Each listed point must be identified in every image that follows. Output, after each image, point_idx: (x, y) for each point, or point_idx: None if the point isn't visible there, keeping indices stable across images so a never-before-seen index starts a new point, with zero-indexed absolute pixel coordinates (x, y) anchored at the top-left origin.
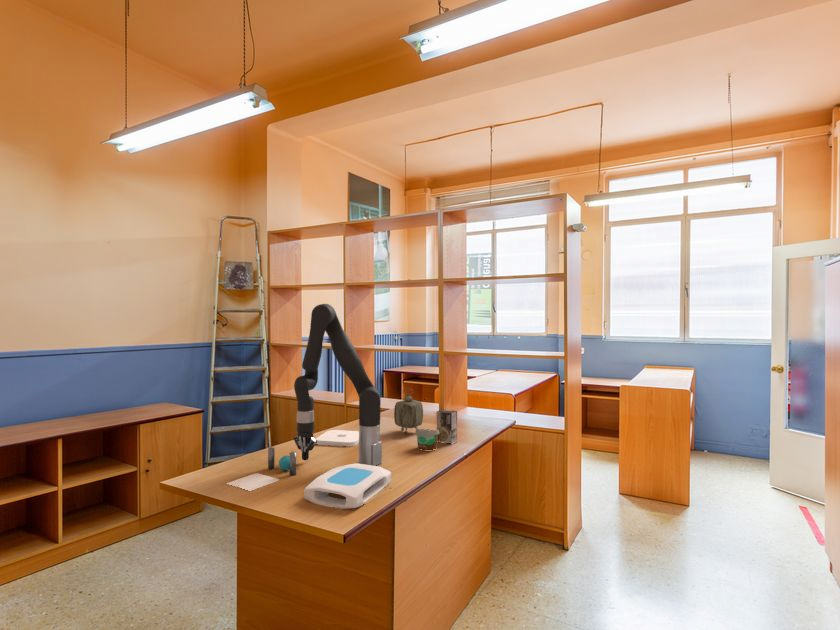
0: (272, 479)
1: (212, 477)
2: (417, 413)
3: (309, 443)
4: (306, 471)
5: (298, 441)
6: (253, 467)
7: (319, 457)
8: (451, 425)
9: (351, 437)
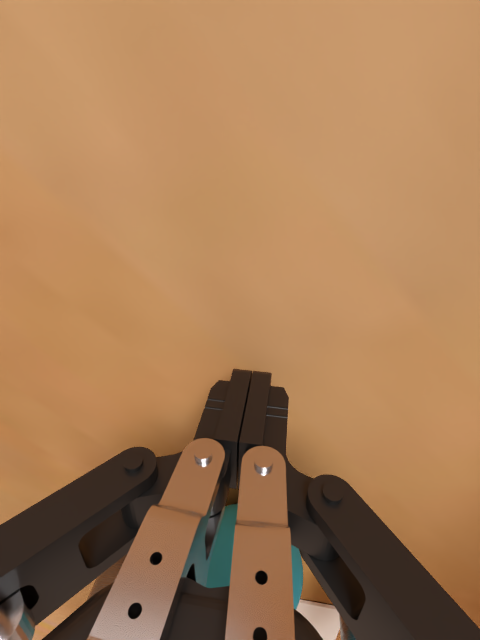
0: (306, 614)
1: (56, 618)
2: None
3: (276, 579)
4: (414, 495)
5: (48, 592)
6: None
7: (248, 115)
8: None
9: None
